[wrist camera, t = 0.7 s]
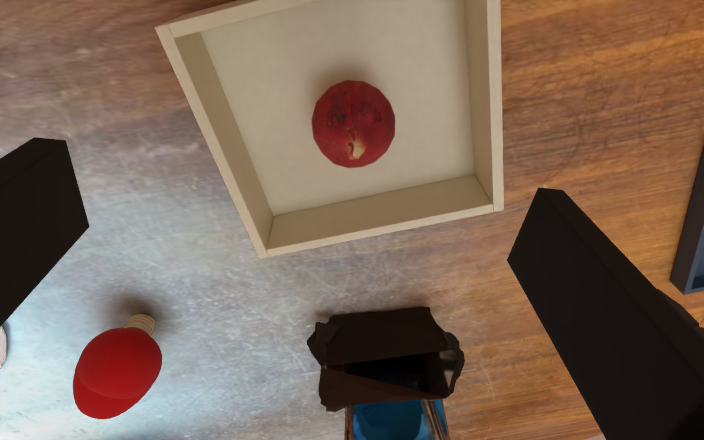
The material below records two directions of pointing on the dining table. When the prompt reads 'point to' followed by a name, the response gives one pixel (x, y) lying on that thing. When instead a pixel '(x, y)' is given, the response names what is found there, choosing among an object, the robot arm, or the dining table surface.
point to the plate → (2, 346)
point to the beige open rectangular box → (314, 80)
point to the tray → (692, 242)
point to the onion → (353, 124)
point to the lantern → (387, 373)
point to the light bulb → (117, 369)
